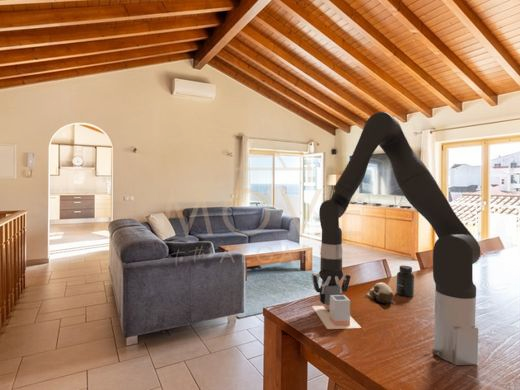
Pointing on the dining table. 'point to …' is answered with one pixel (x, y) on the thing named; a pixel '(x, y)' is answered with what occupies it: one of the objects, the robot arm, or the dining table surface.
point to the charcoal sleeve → (330, 291)
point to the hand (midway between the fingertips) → (330, 303)
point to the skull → (381, 294)
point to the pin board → (325, 318)
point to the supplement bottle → (405, 282)
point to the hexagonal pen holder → (339, 310)
